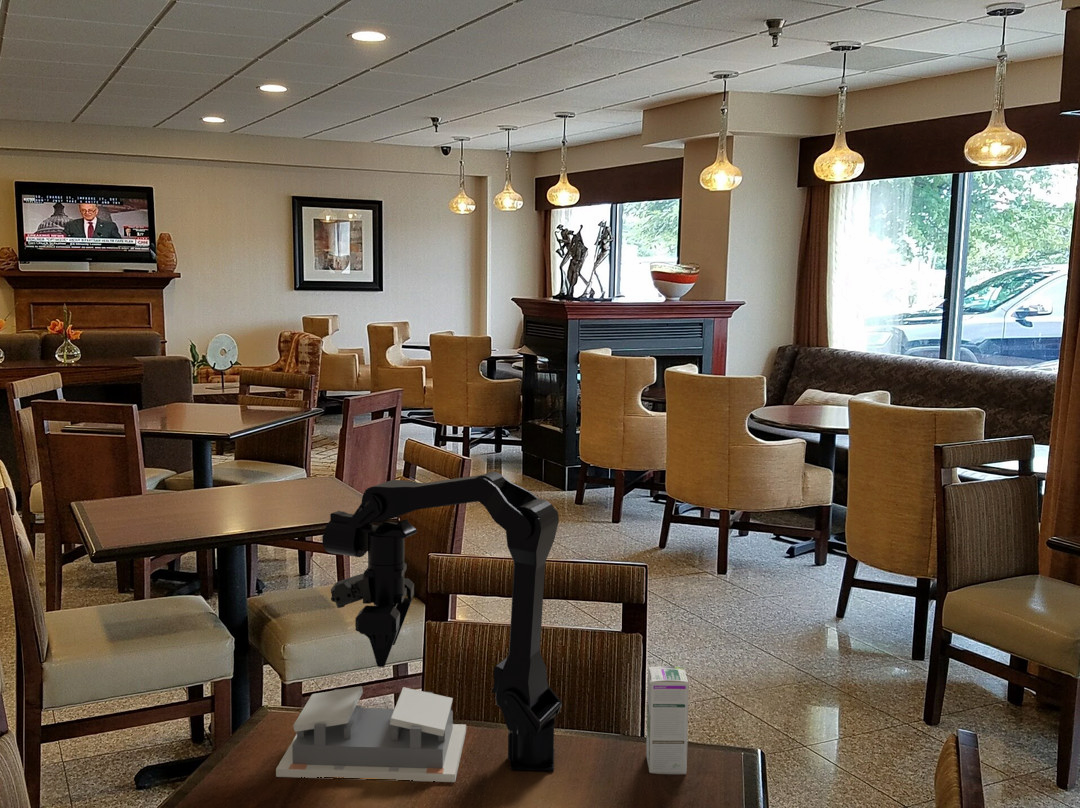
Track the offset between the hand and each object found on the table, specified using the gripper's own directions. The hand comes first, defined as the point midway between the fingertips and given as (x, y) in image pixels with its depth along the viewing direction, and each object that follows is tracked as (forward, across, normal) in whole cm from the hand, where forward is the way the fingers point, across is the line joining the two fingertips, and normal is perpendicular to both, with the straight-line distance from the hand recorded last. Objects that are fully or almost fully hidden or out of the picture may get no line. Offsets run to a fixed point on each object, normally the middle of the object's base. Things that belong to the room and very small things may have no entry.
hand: (386, 655), depth 158 cm
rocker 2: (+6, +9, +7) cm, 13 cm away
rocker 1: (+6, +9, -7) cm, 13 cm away
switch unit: (+12, +9, 0) cm, 15 cm away
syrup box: (+12, +10, +44) cm, 47 cm away
